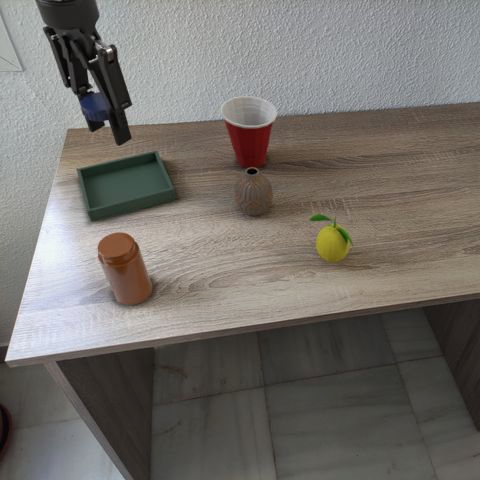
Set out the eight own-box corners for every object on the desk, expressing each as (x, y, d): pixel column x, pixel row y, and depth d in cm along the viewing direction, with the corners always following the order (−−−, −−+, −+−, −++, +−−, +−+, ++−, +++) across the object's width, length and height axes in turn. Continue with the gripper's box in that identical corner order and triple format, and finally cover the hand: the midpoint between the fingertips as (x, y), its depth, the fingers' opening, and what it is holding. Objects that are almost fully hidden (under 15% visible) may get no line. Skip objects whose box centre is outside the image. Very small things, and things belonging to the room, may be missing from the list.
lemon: (307, 248, 81) (309, 205, 74) (339, 241, 82) (344, 198, 75) (320, 277, 77) (323, 234, 69) (353, 269, 78) (360, 226, 71)
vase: (249, 226, 84) (245, 189, 78) (229, 205, 88) (224, 168, 81) (280, 211, 87) (279, 173, 81) (260, 191, 91) (257, 154, 84)
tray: (91, 222, 83) (86, 211, 81) (80, 179, 91) (76, 168, 89) (176, 199, 88) (174, 188, 86) (159, 160, 96) (156, 150, 94)
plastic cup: (276, 177, 94) (274, 126, 85) (222, 175, 94) (215, 123, 85) (280, 146, 101) (279, 95, 93) (230, 143, 101) (224, 92, 92)
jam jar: (119, 310, 70) (98, 264, 63) (111, 284, 74) (90, 237, 66) (156, 297, 72) (140, 251, 65) (147, 272, 76) (131, 225, 68)
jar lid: (125, 101, 80) (122, 91, 79) (119, 121, 76) (116, 110, 74) (87, 102, 79) (84, 91, 78) (79, 122, 75) (75, 111, 74)
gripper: (133, 0, 63) (166, 143, 80) (43, -31, 70) (92, 107, 86) (86, 17, 59) (132, 165, 75) (-5, -18, 65) (56, 126, 82)
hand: (110, 134), depth 81 cm, fingers closed on jar lid, 6 cm apart
